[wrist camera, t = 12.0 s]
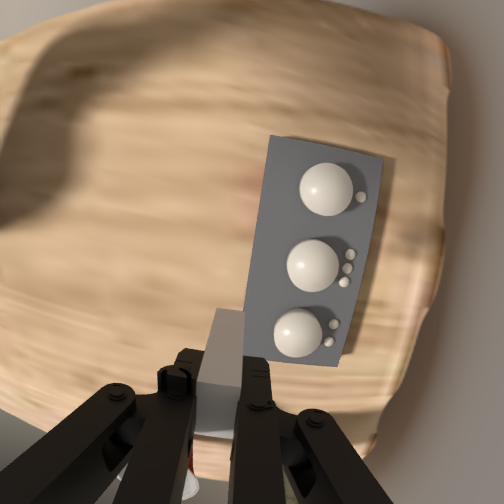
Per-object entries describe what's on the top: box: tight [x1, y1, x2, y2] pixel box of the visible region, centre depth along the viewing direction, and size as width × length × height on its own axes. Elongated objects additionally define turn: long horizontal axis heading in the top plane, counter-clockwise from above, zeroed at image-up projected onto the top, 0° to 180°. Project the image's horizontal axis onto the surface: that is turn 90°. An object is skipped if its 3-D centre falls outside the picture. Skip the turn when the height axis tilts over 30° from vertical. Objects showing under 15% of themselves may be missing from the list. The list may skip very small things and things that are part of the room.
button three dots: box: [286, 239, 339, 292], centre depth 31 cm, size 5×5×4 cm
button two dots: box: [274, 308, 322, 358], centre depth 32 cm, size 5×5×4 cm
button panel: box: [243, 135, 384, 367], centre depth 32 cm, size 12×24×3 cm, turn 171°
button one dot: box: [299, 163, 353, 216], centre depth 29 cm, size 5×5×4 cm
